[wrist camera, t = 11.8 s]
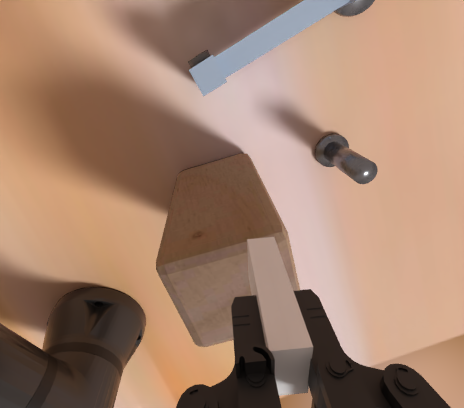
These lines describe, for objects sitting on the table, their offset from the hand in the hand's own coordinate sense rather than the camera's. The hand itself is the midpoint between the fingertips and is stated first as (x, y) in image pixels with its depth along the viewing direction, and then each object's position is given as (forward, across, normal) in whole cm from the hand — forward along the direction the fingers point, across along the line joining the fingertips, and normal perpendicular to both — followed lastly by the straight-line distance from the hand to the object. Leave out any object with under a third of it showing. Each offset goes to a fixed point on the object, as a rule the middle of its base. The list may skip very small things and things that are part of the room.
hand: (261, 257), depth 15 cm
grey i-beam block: (+23, +4, +12) cm, 26 cm away
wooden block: (+23, -2, -6) cm, 24 cm away
